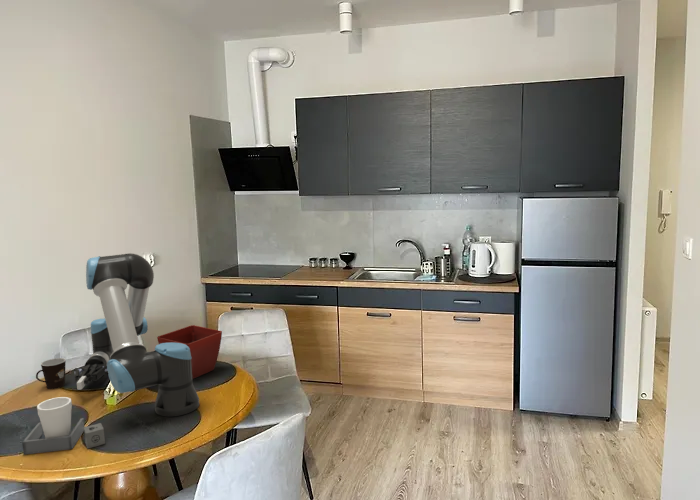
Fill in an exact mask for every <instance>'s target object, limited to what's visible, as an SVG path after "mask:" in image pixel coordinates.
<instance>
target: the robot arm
mask: <svg viewBox="0 0 700 500" xmlns="http://www.w3.org/2000/svg"><path fill="white" fill-rule="evenodd" d="M85 266H86V267H85V270H86V271H85V277H86V278H85V279H86V280H85V282H86V284H85V285H86V287H87V290H92V291H93V294H94V295H95V296H96V297H98V298H99V300H100V304H101V309H102V311H103V316H104V317H103V318H97V319H94V320H93V321H91V322H90V335H91V336H90V337H91V343H92V355H91V356H90V357H89V358H88V359H87V360H86V361H85V363H84V365H83V366H82V367H81V368H76V367H75V368H73V372H74V383H76V388H77V389H76V390H77V391H78V390H83V389H84V388H85V386H86V385H88V384H89V383H90V382H92V381H93V382H95V381H98V380H99V379H100V378H101V377H103V376H104V375H106V374H107V373H108V379H109V381H110V384H111V385H112V388H113V389H114V390H115V391H116V392H117V393H118V394H119V393H120V394H124V393H129V392H130V393H132V392H135V391H138V390H139V391H140V390H142V389H146V388H150V387H153V386H157V387H158V391H157V395H156V398H155V402H154V410H155V413H156V414H157V415H158V416H161V417H178V416H184V415H186V414H189V413H192V412H194V411H196V409H198V408H199V407H200V397H199V395H198V393H197V390H196V388H195V386H194V381H193V380H194V379H192V365H191V359H192V357H191V353H190V348H189V347H188V346H187V345H185V344H182V343H173V342H170V343H161V344H159V343H158V344H156V345H155V347H154V350H152V351H147V349H146V346H145V345H144V344H141V343H140V341H139V338H138V336H140V335H145V334H147V333H148V330H149V329H148V327H149V326H148V325H149V324H148V321H147V318H146V317H145V311H146V307H147V306H146V305H147V301H148V295H149V290H150V288H151V286H152V285H153V283H154V278H155V277H154V276H155V273H154V269H153V267H152V265H151V264H150V262H148V260H147V259H146V258H144V257H143V256H141V255H139V254H137V253H131V252H130V253H123V254H122V253H121V254H113V255H105V256H95V257H89V258H88V260H86V265H85ZM127 287H128V291H127V295H126V289H127Z"/></svg>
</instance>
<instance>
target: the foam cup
mask: <svg viewBox="0 0 700 500" xmlns="http://www.w3.org/2000/svg"><path fill="white" fill-rule="evenodd" d="M72 404H73V403H72V398H71V397H67V396H59V397H53V398H50V399H45V400H44V401H42V402H39V404H37V405H36V410H37V416H38V417H39V421H40V423H41V426H42V433H43V435H44V439H45V438H54V437H63V436H69V435H70V434H71V432H72V429H71V428H72V408H73V405H72Z"/></svg>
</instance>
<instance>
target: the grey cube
mask: <svg viewBox="0 0 700 500" xmlns="http://www.w3.org/2000/svg"><path fill="white" fill-rule="evenodd" d="M83 428H84V431H83V435H84V443H85V446H86V449H87V450H88V449H92V448H96V447H98V446H102V445H106V439H105V438H106V437H105V431H104V430H105V429H104V427H103V425H102V423H101V422H99V423H96V424H92V425H91V424H90V425H87V426H84V427H83Z"/></svg>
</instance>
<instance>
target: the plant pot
mask: <svg viewBox="0 0 700 500" xmlns="http://www.w3.org/2000/svg"><path fill="white" fill-rule="evenodd" d="M222 335H223V330H219V329H214V328H208V327H203V326H199V325H195V324H194V325H193V324H192V325H187V326H185V327H182V328H179V329H175V330H173V331H170V332H167V333H164V334H161V335H158V336H156V338H157V342H158V345H159V344H161V343H170V342H173V343H182V344H185V345H187V346H188V347H189V348H190V353H191V357H192V359H191V365H192V379H193V380H194V379H196V378H198V377H201V376H203V375H206V374H207V373H210V372H212V371H214V369H215V367H216V364H217V362H218V358H219V354H220V348H221V344H222Z"/></svg>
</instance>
